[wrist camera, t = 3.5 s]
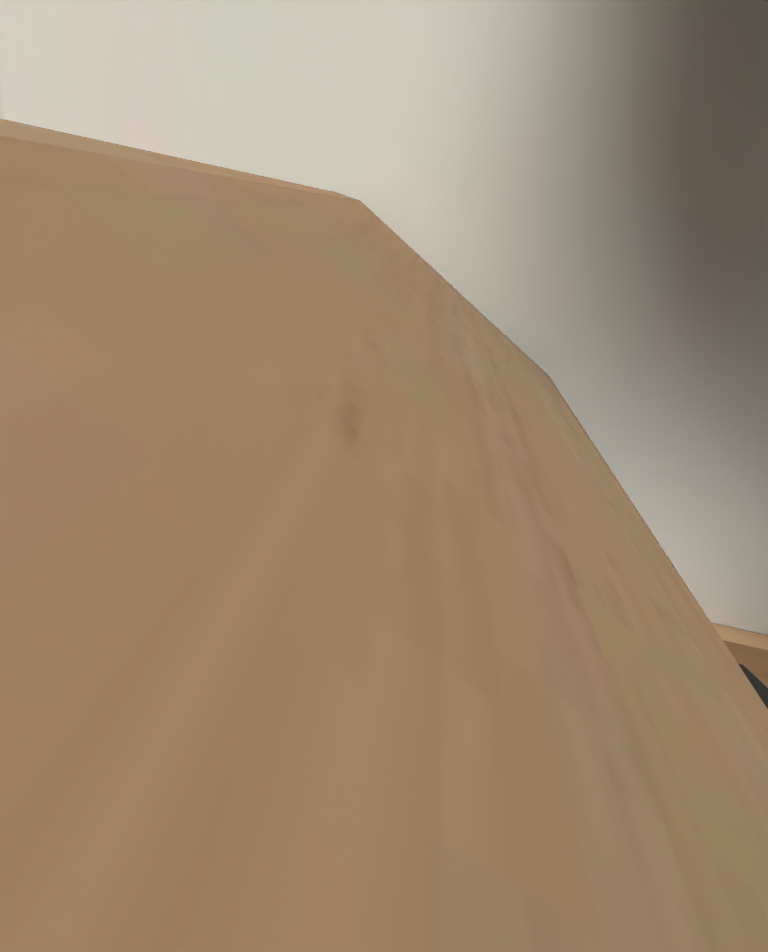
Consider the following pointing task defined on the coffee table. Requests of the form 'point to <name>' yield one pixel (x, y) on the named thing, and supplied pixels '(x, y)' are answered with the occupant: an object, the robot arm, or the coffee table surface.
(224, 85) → the coffee table surface
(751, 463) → the coffee table surface
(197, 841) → the wooden block
